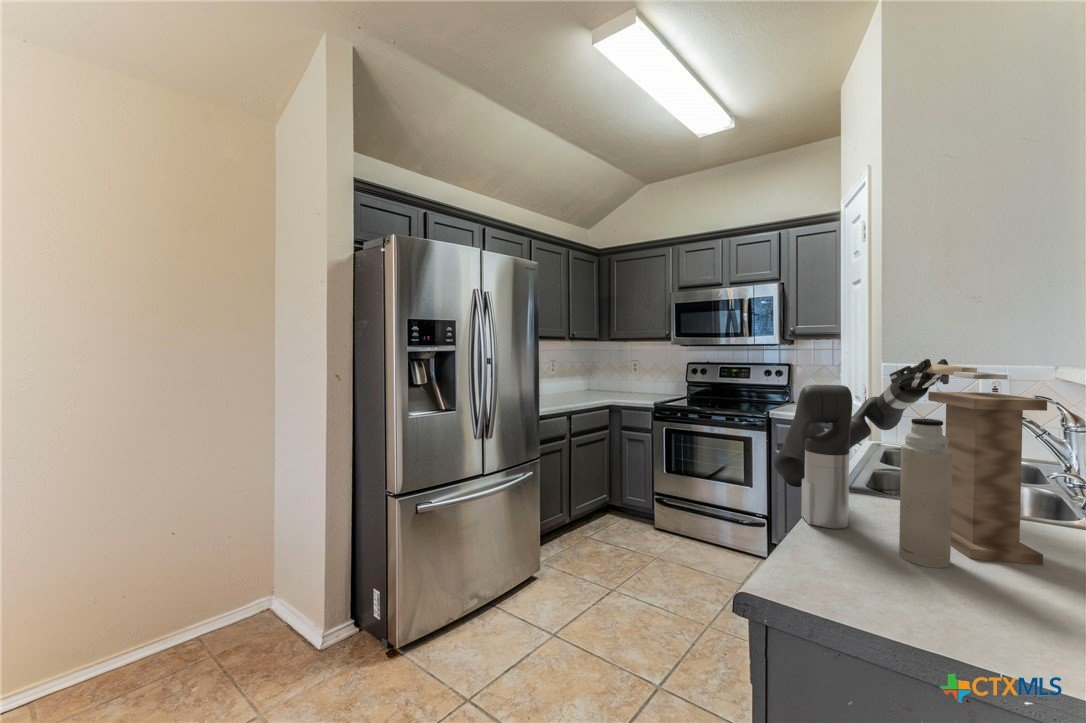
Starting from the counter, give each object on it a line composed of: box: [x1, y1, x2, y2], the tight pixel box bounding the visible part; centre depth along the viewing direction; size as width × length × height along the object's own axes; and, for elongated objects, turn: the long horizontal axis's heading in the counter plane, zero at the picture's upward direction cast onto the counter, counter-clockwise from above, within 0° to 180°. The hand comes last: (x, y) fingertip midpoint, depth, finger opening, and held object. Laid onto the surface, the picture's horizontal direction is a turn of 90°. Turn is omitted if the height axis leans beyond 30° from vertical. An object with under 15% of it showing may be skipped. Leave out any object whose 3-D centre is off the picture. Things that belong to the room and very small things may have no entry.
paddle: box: [917, 362, 1008, 381], centre depth 113 cm, size 6×25×2 cm, turn 167°
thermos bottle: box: [898, 418, 953, 569], centre depth 95 cm, size 8×8×28 cm
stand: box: [927, 391, 1048, 566], centre depth 102 cm, size 12×16×32 cm
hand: (936, 362), depth 119 cm, fingers closed on paddle, 3 cm apart
